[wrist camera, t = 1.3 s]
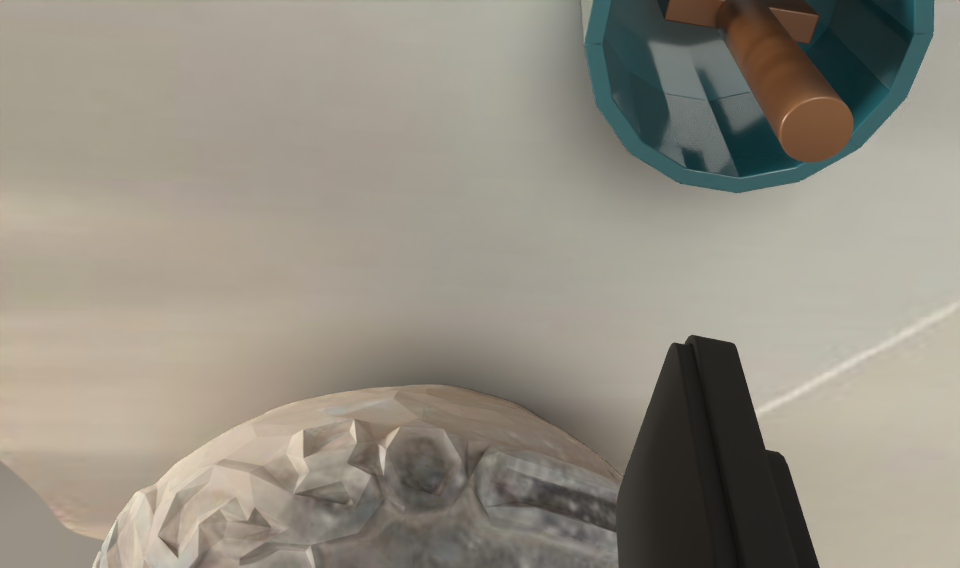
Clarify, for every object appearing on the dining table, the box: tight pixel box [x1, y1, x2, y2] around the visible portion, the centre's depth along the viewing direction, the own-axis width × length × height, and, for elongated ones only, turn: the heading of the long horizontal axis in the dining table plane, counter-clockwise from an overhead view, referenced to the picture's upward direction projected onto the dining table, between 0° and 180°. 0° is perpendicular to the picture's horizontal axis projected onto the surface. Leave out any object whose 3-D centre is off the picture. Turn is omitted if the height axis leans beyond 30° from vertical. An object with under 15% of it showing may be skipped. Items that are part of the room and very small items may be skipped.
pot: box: [581, 0, 934, 193], centre depth 36 cm, size 12×12×10 cm
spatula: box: [657, 0, 853, 162], centre depth 32 cm, size 2×6×18 cm, turn 82°
